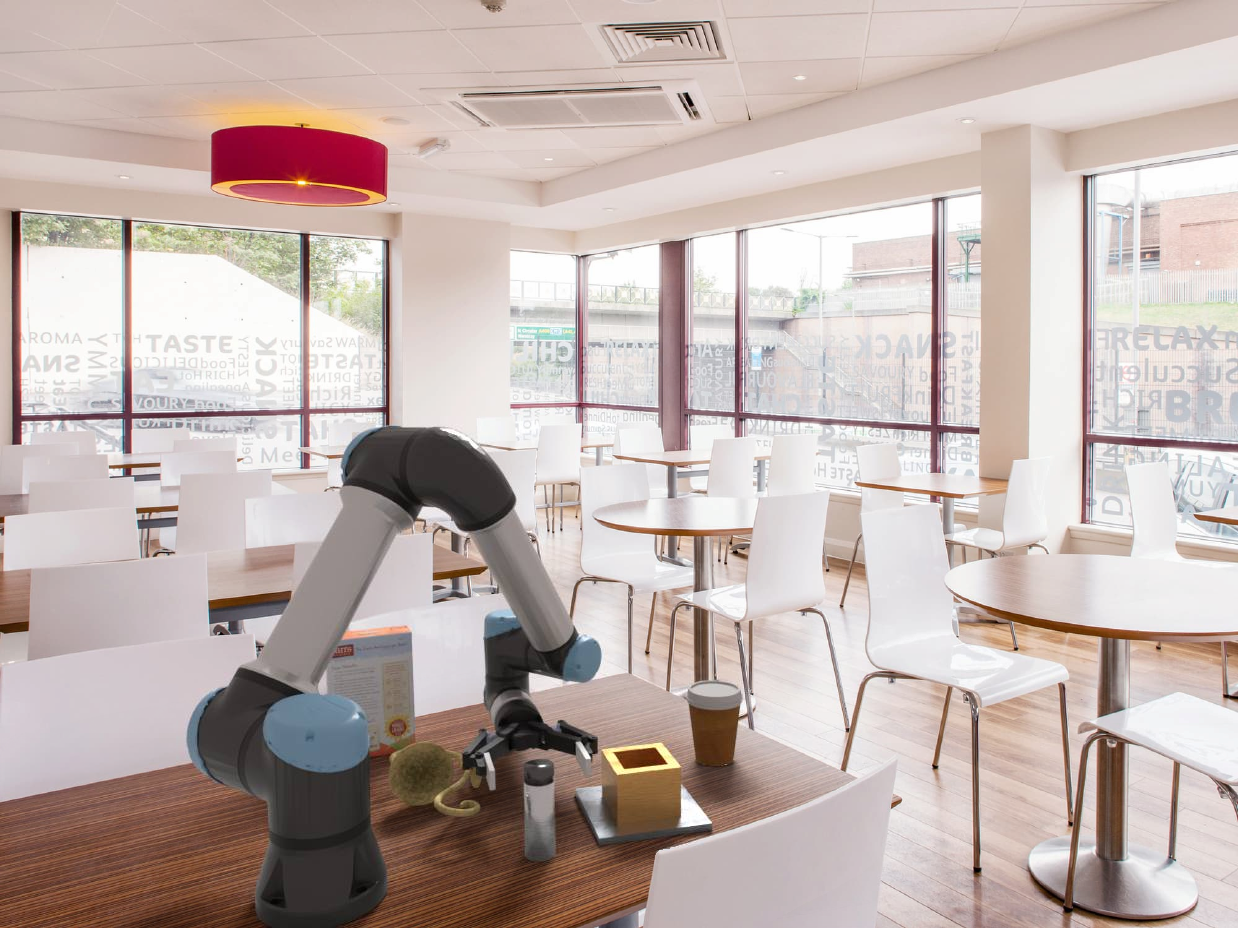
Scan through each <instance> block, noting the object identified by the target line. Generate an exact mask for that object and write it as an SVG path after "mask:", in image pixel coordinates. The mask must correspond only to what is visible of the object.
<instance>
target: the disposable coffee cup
mask: <svg viewBox="0 0 1238 928" xmlns="http://www.w3.org/2000/svg"><path fill="white" fill-rule="evenodd" d="M685 699H686V702H687V703H688V710H689V718H690V724H691V725H690V726H691V733H692V740H693V741H692V742H693V748H694V757H695V758H696V759H695V760H697V761H698V762H699V763H698V762H697V761H696V762H697V763H698V764H700V763H701V765H703V764H705V765H704V766H706V765H709V766H708V767H714V766H719V767H723V766H722V765H725V764H729V763H731V762H732V761H733V762H734V760H735V759H734V758H735V750H736V744H737V742H736V741H737V733H738V727H739V719H740V712H741V711H740V710H741V705H742V702H743V700H744V694H743V693H742V690H741V687H740V686H739V685H737V684H736V683H734V682H732V681H731V682H730V681H725V680H714V679H712V680H700V681H699V680H698V681H696V682H694V683H690V685H689V686H688V687H687V692H686V693H685ZM733 759H734V760H733ZM733 762H732V763H733ZM732 763H731V764H732ZM729 765H730V764H729Z"/></svg>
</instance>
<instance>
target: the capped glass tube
mask: <svg viewBox="0 0 1238 928" xmlns="http://www.w3.org/2000/svg"><path fill="white" fill-rule="evenodd" d="M522 766H523V768H522V769H523V808H524V809H523V810H524V811H523V814H524V816H523V817H524V818H523V819H524V820H523V821H524V857H525V858H526V859H527V861H528V860H529V861H530V862H535V863H536V862H537V863H540V862H546V861H550V860H551V859H553V858H555V856H556V852H557V851H556V805H555V804H556V803H555V802H556V800H555V797H556V796H555V794H556V793H555V790H556V789H555V788H556V787H555V763H554V761H552V760H550V759H545V758H536V759H530V760H527V761H526V762H524V764H523V765H522Z"/></svg>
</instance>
